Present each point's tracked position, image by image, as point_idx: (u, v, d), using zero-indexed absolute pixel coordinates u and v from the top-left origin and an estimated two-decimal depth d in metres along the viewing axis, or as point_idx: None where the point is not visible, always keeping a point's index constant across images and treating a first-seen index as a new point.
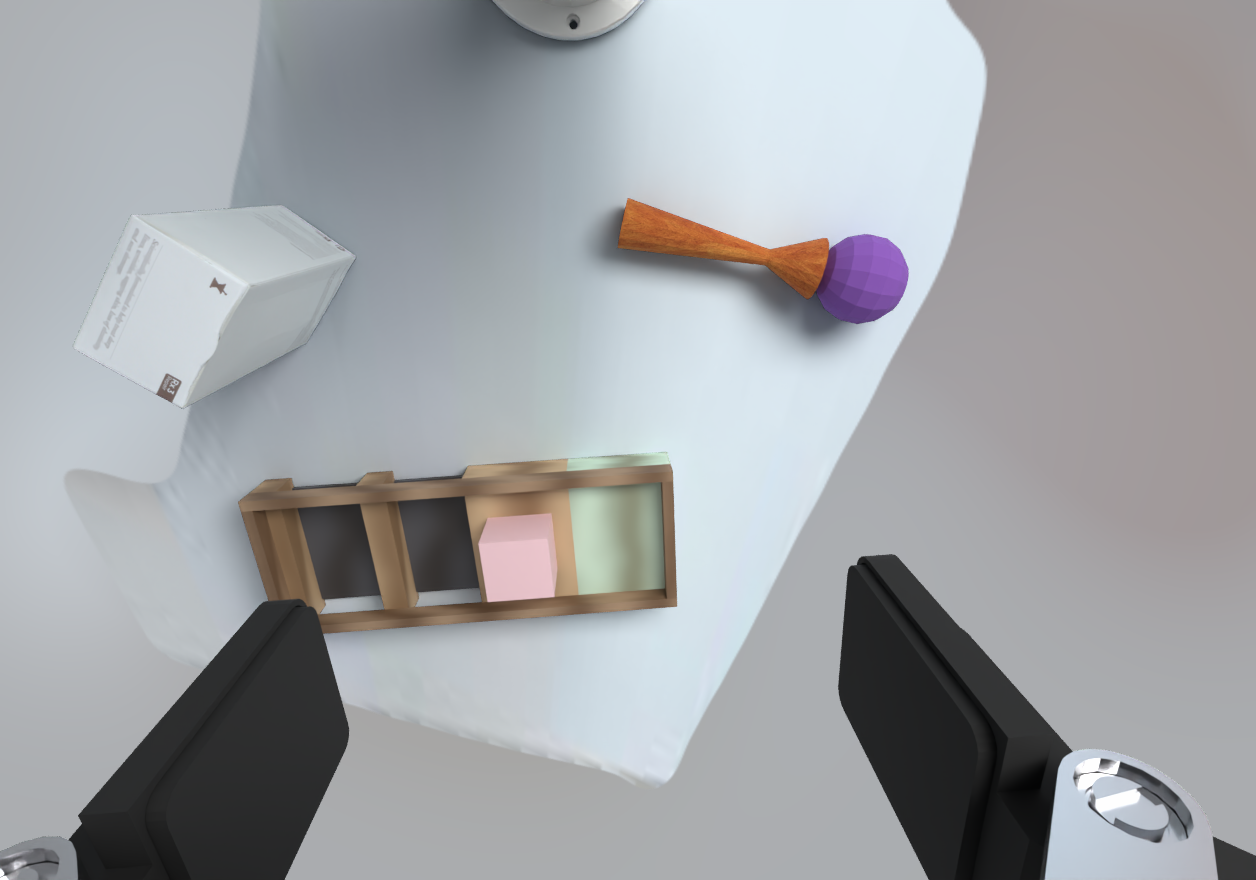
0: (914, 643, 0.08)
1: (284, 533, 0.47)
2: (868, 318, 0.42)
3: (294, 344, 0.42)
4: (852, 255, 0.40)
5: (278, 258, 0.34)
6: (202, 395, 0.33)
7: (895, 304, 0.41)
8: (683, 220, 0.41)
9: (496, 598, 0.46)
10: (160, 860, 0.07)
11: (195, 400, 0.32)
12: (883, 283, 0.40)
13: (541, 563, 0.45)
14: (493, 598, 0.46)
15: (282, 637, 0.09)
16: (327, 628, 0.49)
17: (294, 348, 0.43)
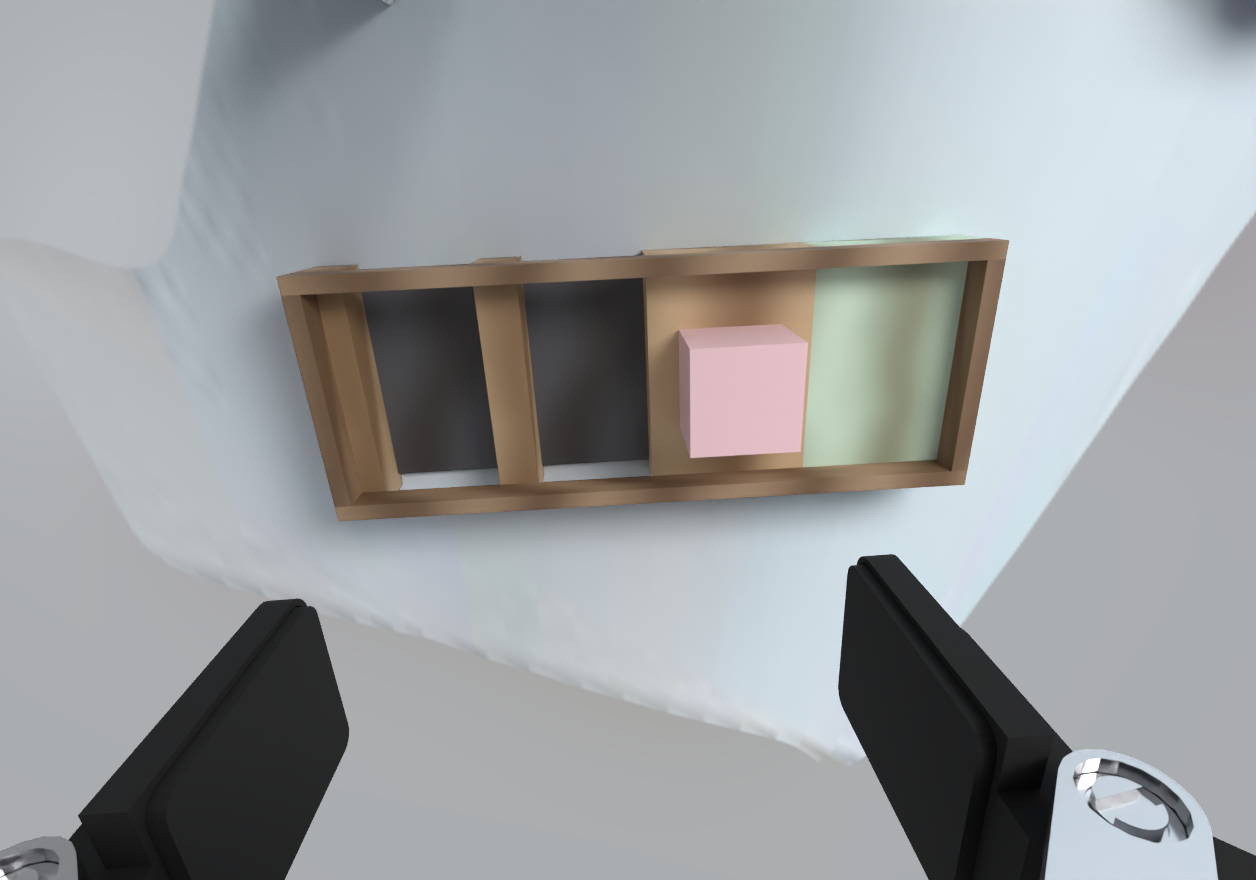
0: (914, 643, 0.08)
1: (348, 347, 0.29)
2: None
3: None
4: None
5: None
6: None
7: None
8: None
9: (706, 451, 0.27)
10: (160, 860, 0.07)
11: None
12: None
13: (790, 389, 0.26)
14: (700, 451, 0.27)
15: (282, 637, 0.09)
16: (414, 508, 0.31)
17: None
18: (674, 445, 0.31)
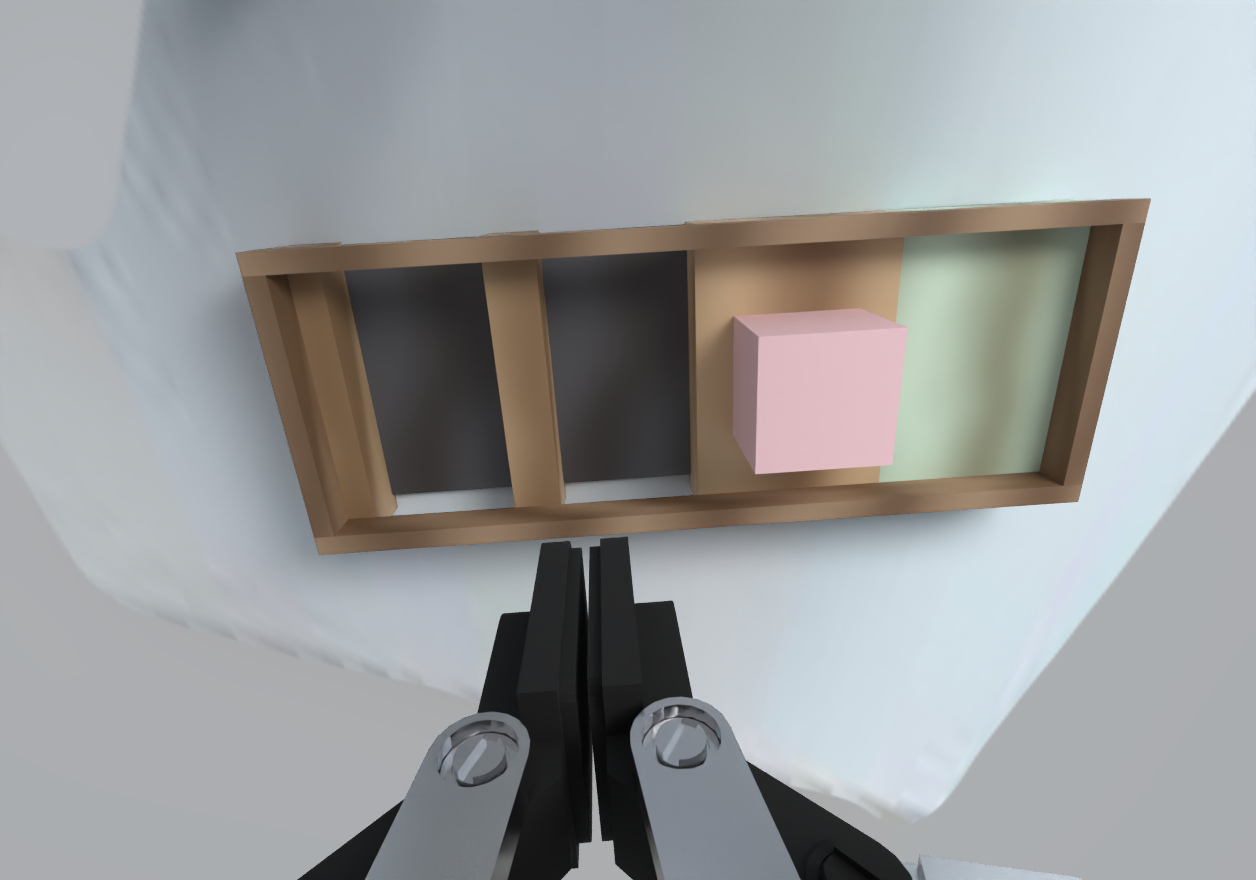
0: (592, 612, 0.09)
1: (329, 342, 0.24)
2: None
3: None
4: None
5: None
6: None
7: None
8: None
9: (775, 465, 0.22)
10: (564, 737, 0.08)
11: None
12: None
13: (883, 387, 0.21)
14: (768, 466, 0.22)
15: (575, 570, 0.10)
16: (411, 538, 0.25)
17: None
18: (725, 457, 0.26)
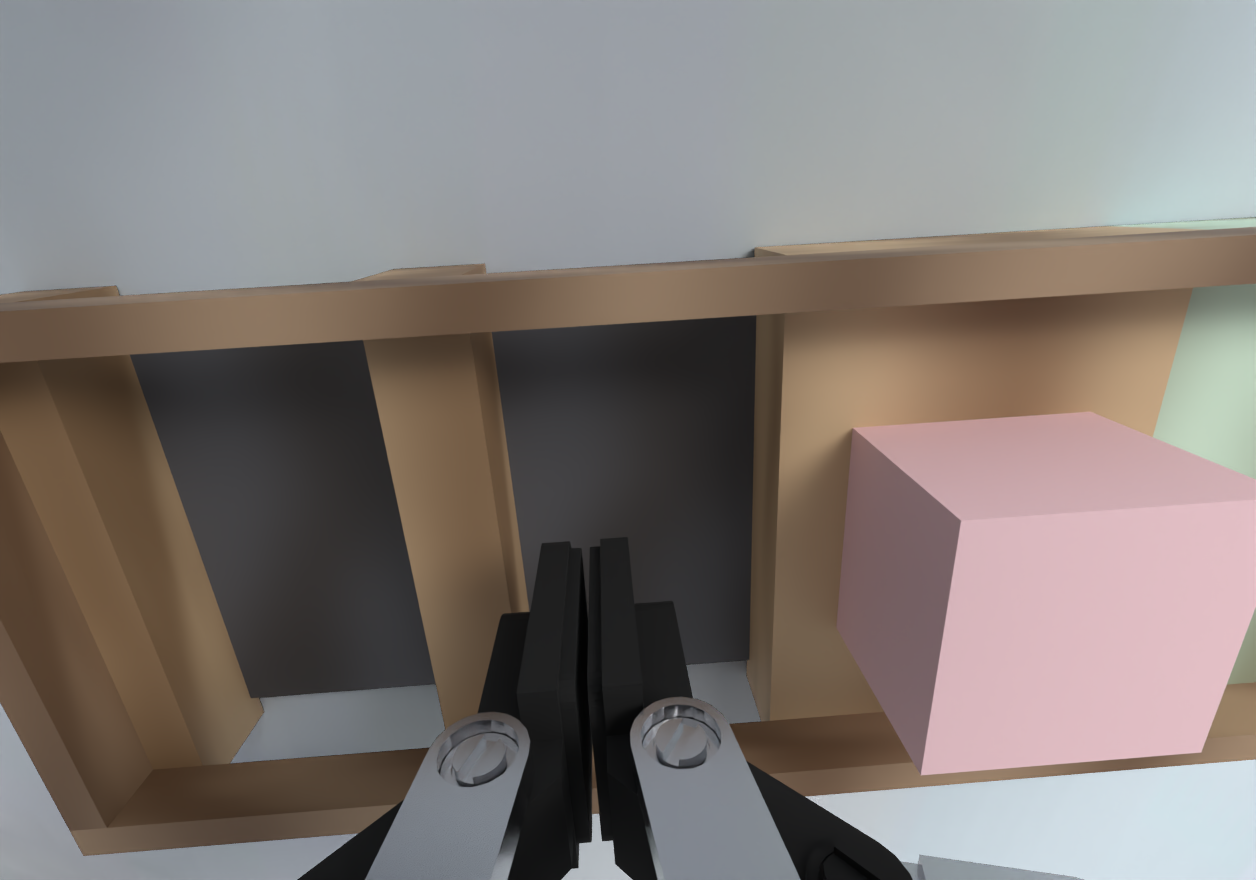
0: (592, 612, 0.09)
1: (74, 483, 0.12)
2: None
3: None
4: None
5: None
6: None
7: None
8: None
9: (964, 759, 0.10)
10: (564, 737, 0.08)
11: None
12: None
13: (1215, 614, 0.10)
14: (949, 761, 0.10)
15: (575, 570, 0.10)
16: (252, 827, 0.14)
17: None
18: (820, 662, 0.15)
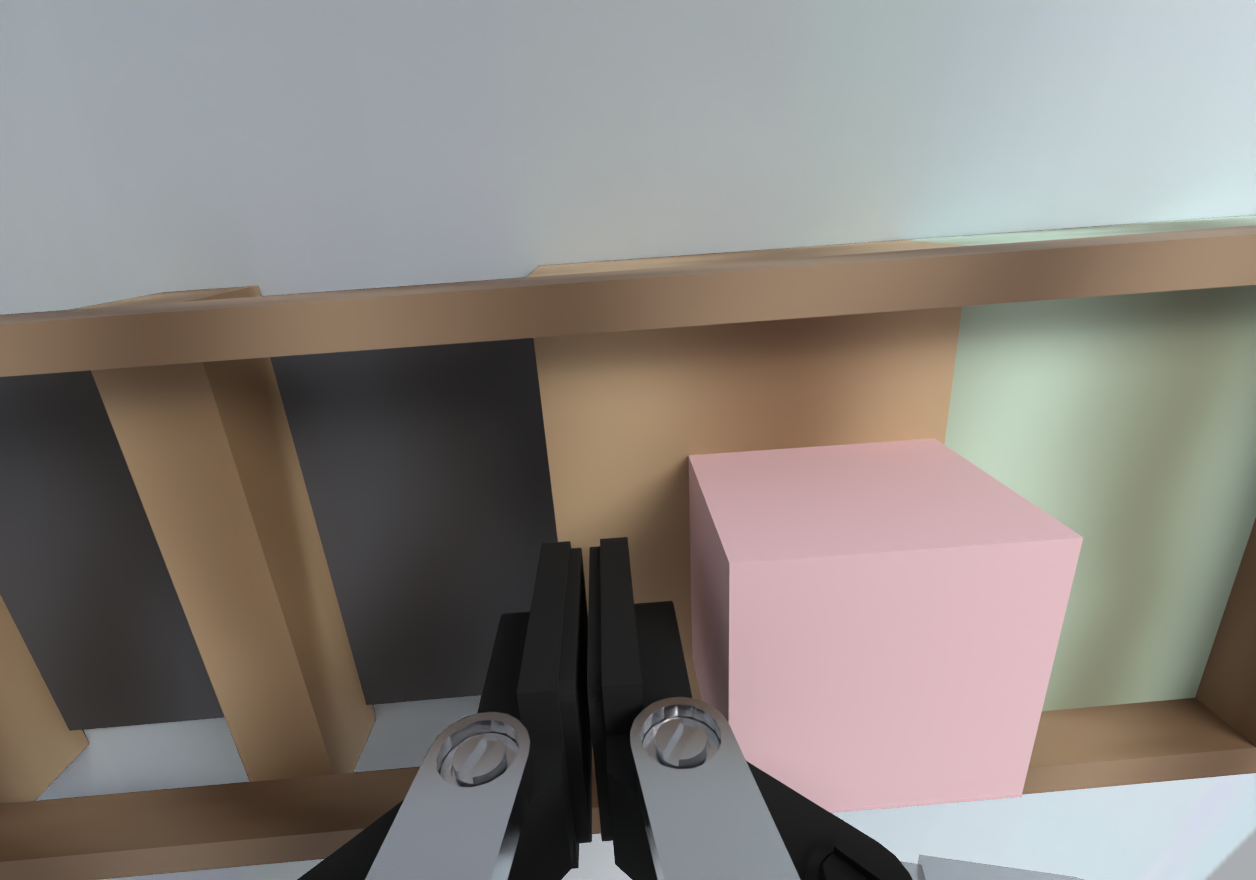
0: (592, 612, 0.09)
1: None
2: None
3: None
4: None
5: None
6: None
7: None
8: None
9: None
10: (564, 737, 0.08)
11: None
12: None
13: (1014, 657, 0.09)
14: None
15: (575, 570, 0.10)
16: (26, 870, 0.13)
17: None
18: None
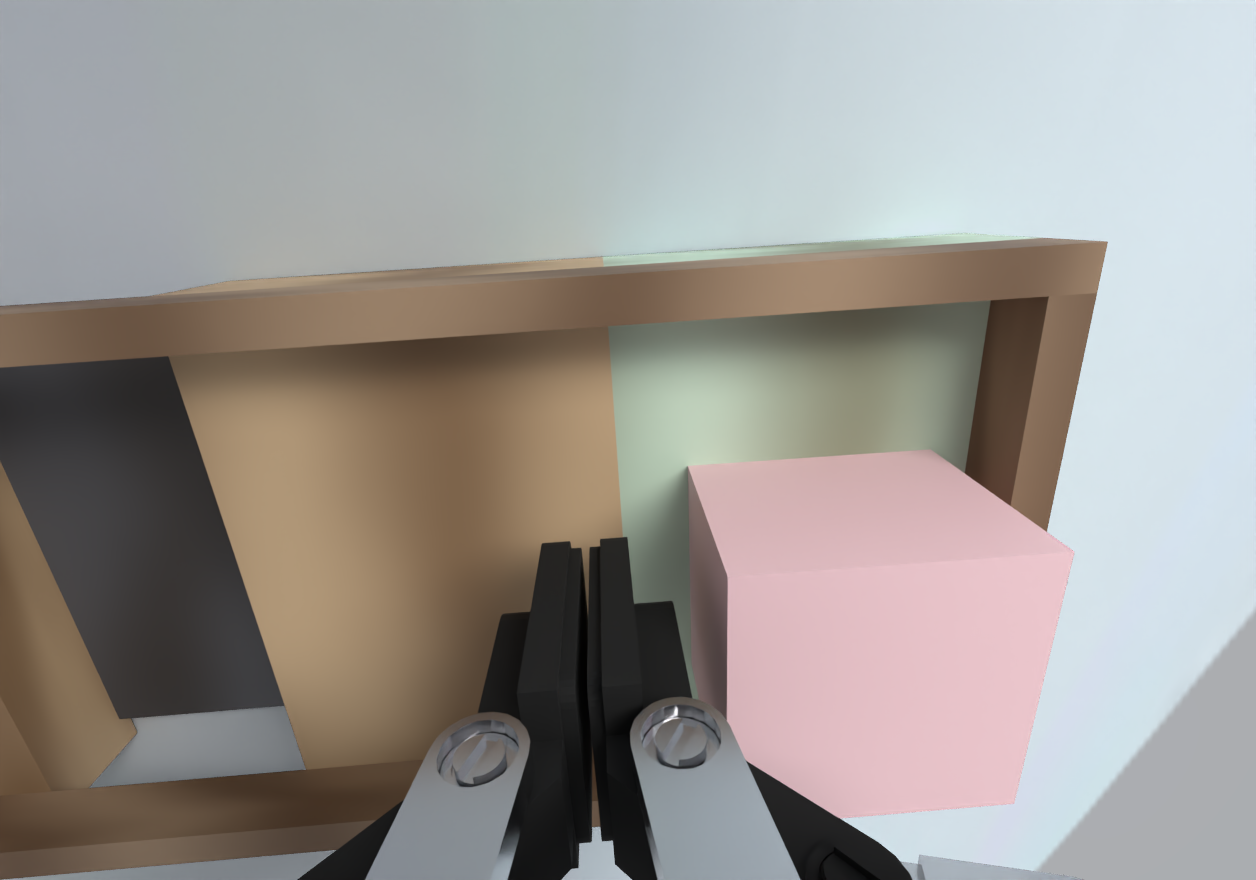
0: (592, 612, 0.09)
1: None
2: None
3: None
4: None
5: None
6: None
7: None
8: None
9: None
10: (564, 737, 0.08)
11: None
12: None
13: (1008, 667, 0.09)
14: None
15: (575, 570, 0.10)
16: None
17: None
18: (339, 711, 0.14)
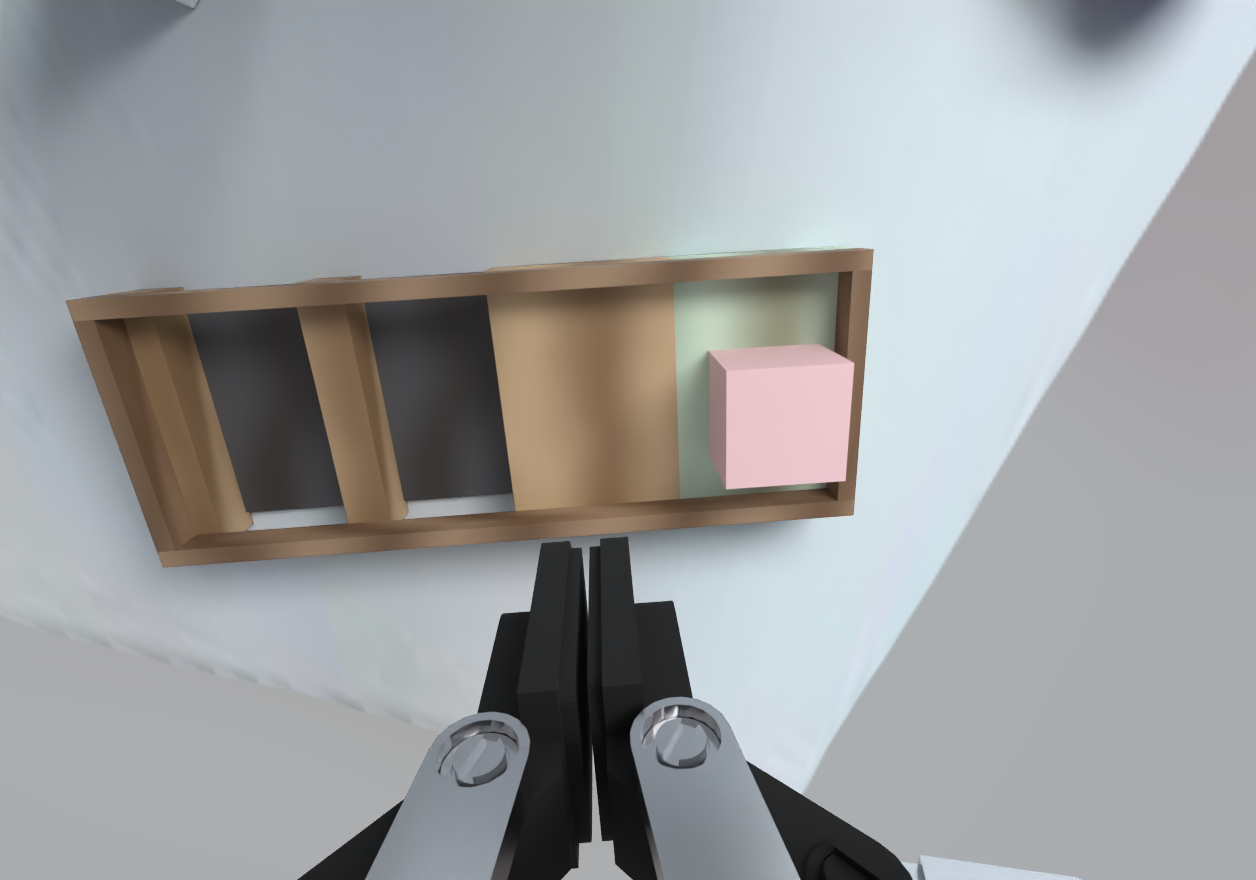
0: (592, 612, 0.09)
1: (165, 376, 0.26)
2: None
3: None
4: None
5: None
6: None
7: None
8: None
9: (743, 481, 0.25)
10: (564, 736, 0.08)
11: None
12: None
13: (835, 413, 0.24)
14: (737, 482, 0.25)
15: (575, 570, 0.10)
16: (246, 552, 0.28)
17: None
18: (536, 477, 0.29)
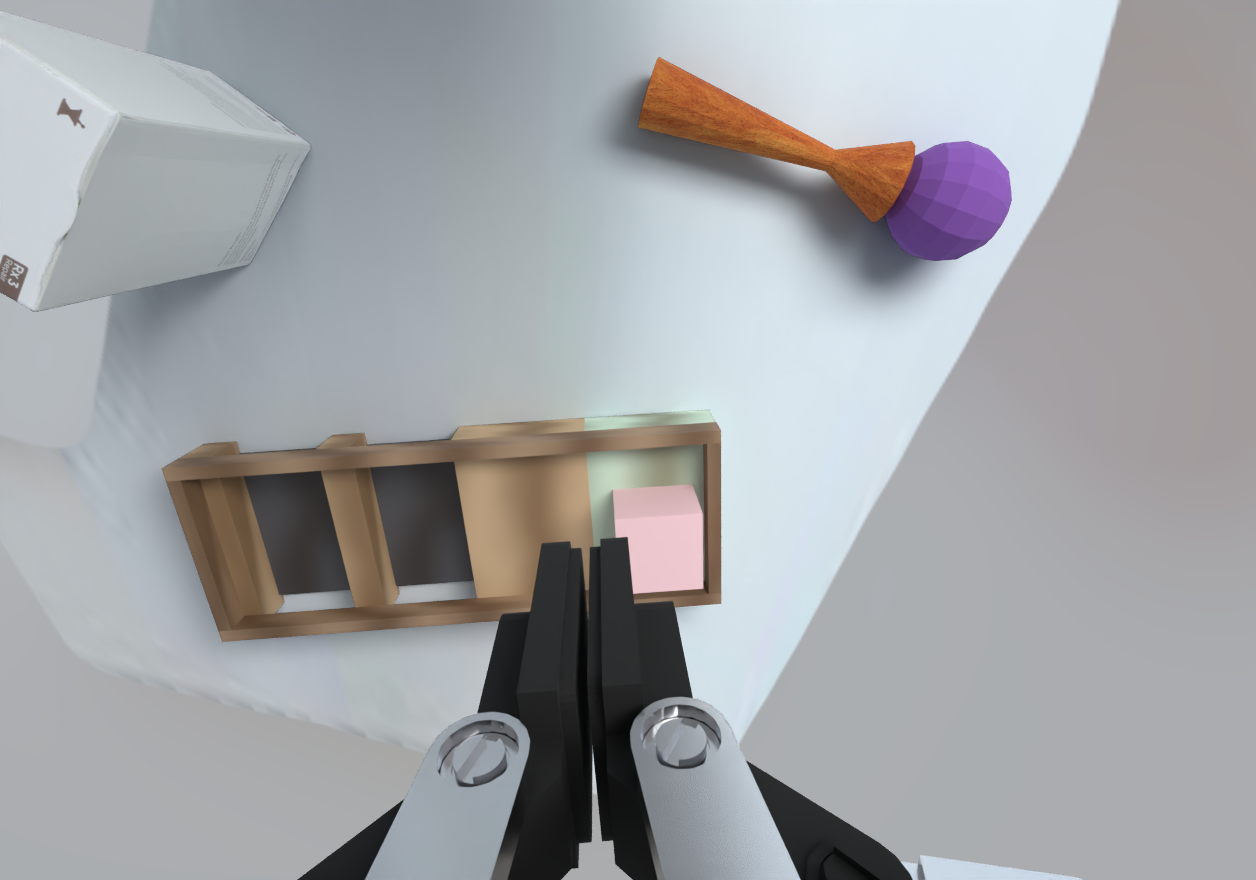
0: (592, 612, 0.09)
1: (225, 510, 0.37)
2: (953, 251, 0.32)
3: (229, 258, 0.32)
4: (946, 162, 0.30)
5: (184, 107, 0.24)
6: (70, 297, 0.23)
7: (990, 236, 0.32)
8: (728, 95, 0.31)
9: None
10: (564, 737, 0.08)
11: (58, 302, 0.22)
12: (983, 201, 0.30)
13: (692, 545, 0.35)
14: None
15: (575, 570, 0.10)
16: (282, 631, 0.39)
17: (231, 266, 0.33)
18: (491, 574, 0.40)
